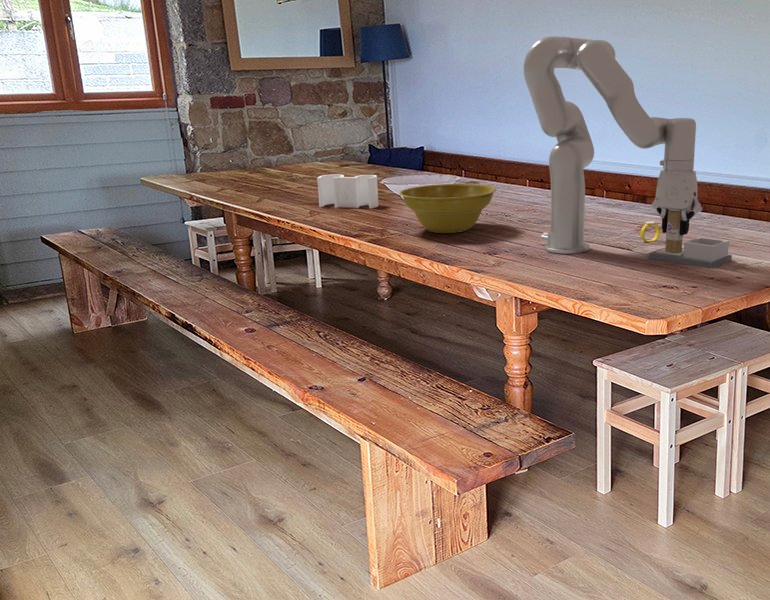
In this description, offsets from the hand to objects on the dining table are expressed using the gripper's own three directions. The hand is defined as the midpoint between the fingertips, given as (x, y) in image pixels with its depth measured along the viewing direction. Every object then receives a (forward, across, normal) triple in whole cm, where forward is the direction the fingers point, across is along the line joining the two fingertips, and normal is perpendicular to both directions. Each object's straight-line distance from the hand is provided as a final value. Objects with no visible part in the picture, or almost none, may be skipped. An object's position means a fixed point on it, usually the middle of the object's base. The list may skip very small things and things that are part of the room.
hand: (674, 232), depth 222 cm
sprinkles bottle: (+5, 0, 0) cm, 5 cm away
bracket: (+8, -144, +3) cm, 144 cm away
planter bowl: (+7, -77, -8) cm, 78 cm away
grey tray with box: (+7, +5, 0) cm, 8 cm away
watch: (+7, -15, +14) cm, 22 cm away
